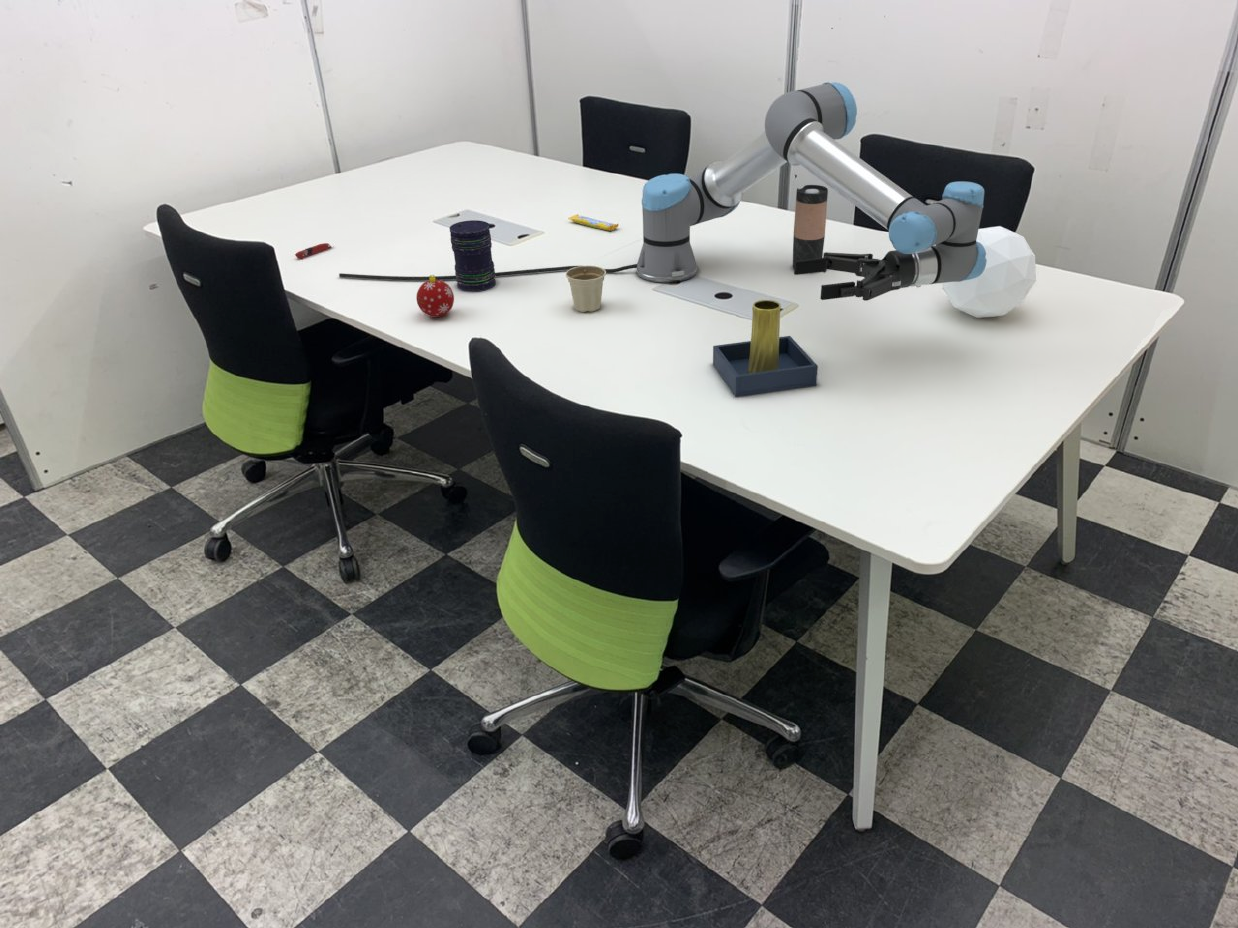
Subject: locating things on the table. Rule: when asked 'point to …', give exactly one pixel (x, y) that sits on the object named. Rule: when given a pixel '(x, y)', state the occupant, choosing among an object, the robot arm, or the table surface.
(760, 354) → the vase
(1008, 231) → the geometric polyhedron
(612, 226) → the candy bar
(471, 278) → the storage jar
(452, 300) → the christmas ornament
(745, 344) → the tray
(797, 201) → the travel mug
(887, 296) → the table surface
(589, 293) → the flower pot
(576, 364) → the table surface
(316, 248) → the utility knife
